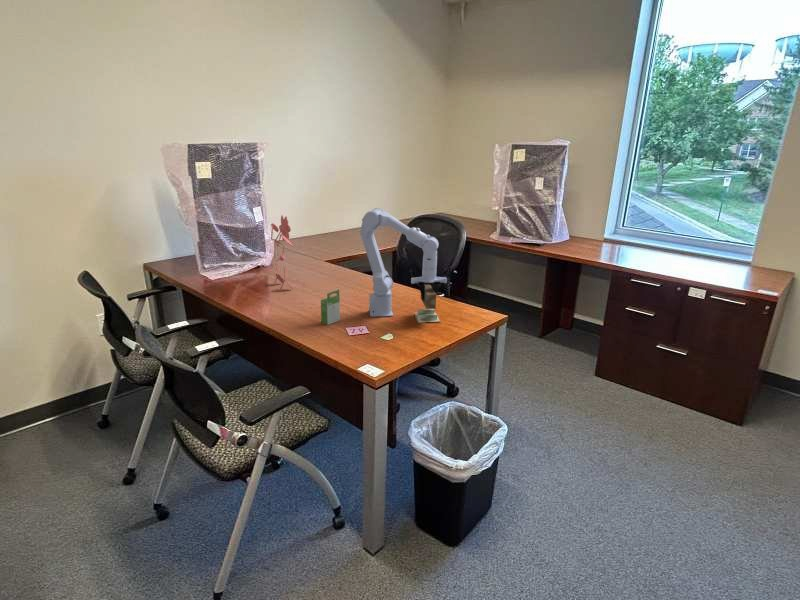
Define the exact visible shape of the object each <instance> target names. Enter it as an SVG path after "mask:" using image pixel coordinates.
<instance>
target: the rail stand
mask: <svg viewBox="0 0 800 600" xmlns="http://www.w3.org/2000/svg"><path fill="white" fill-rule="evenodd" d="M414 317H415V319H416V321H417V323H418V324H427V323H426V322H440V323H441V319H439V316H438V313H436V312H435V309H426V308H421V309H420V308H417V312H414Z"/></svg>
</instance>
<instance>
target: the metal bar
mask: <svg viewBox="0 0 800 600" xmlns="http://www.w3.org/2000/svg"><path fill="white" fill-rule="evenodd" d="M424 285H425V291H424V300H422V297H421V296H420V300H421V301H422V303H423V305H424V307H425V309H434V310H435V309H437V307H436V306H437V294H436V293H435V292H434V290H433V286H432V285H431V284H424Z"/></svg>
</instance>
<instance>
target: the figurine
mask: <svg viewBox="0 0 800 600" xmlns="http://www.w3.org/2000/svg"><path fill="white" fill-rule="evenodd" d="M270 226H271V235H270V241H273V242H274V243H275V244H276V247H279V245H281V246H283V247H282V254H281V255H280V256H279V258H278V259H277V260H275V261H274V265H275V269H276V272H277V273H276V274H275V277H276V278H275V280H274V283H273V286H274V287H275V284H276V282H277V280H278V281H279V282H280V283H281V286H280V288H279V291H280V292H281V291H282V288H283V286H284V284H285V282H286V284H287V285H288V286H289V287H290V288H291V289H293V287H292V286H291V285H290V284H289V283H288V282H287V281H286V271H285V269H286V268H285V266H283V276H284V278H283V277H282V275H280V274H279V270H278V267H277V263H276V262H278V261H281V262H285V260H286V257H285V255H284V254H285V253H284V252H285V244H283V243H281V239H282V242H286V243H287V244H288V245H290V246H291V247H294V245H293V244H292V242H291V241H290V232H291V230H292V229H291V226H290V224H289V220H288V216H285V217H284V216H283V215H281V216H280V225H278V226H277V225H276V224H275V223H274V222H273V223H271V224H270ZM273 231H275V232H276V233H278V234H277V236H276V238H275V239H273ZM277 240H278V241H277ZM292 281H295V282H298V283H299V282H300V283H302V284H303V285H305V282H303V281H298V280H293V279H292ZM286 294H287V293H284V295H286Z"/></svg>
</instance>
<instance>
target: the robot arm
mask: <svg viewBox="0 0 800 600" xmlns="http://www.w3.org/2000/svg"><path fill="white" fill-rule="evenodd" d="M361 221H362V223H361V228H360V232H359V234H360V236H361V240H362V244H363V247H364V250H365V253H366V256H367V259H368V261H369V265H370V269H371V271H372V283H373V287H372V290H373V293H369V296H368V297H369V301H368V303H369V305H368V311H369V315H370V317H371V318H372V317H393V316H394V313H393V311H392V295H393V294H392V293H393V292H392V290H391V288H392V287H393V286H394V281H393V279H392V277H390V275H389V272H388V270H386V268H385V265H384V262H383V259H382V256H381V253H380V250H379V247H378V244H377V240H376V237H375V232H376V230H377V228H378V227H389V228H390V227H391V229H394V230H396V231H397V232H399V233H400V234H403V235H405V237H406V241H409V242H410V243H412V244H413V245H415V246H417V247H418V248H421V250H422V252H423V256H422V269H421V271H422V272H421V273H422V274H421V276H417V277H411V278H410V284H413V285H414V284H417V285H418V288H419V292H420V298H421V297H422V300H424V291H425V285H426V284H432V288H433V290H434V292H435V293H436V295H437V294H438V291H439V290H440V288H441V286H442V284H441V283H443V284H447V283H448V278H447V277H446V276H437V267H438V266H437V265H438V248H439V245H440V243H439V240H438V239H437V238H436V237H435V236H431V235H430V234H427V233H425V232H422V231H421V228H419V227H414V226H413V227H409V226H408V225H406V224H404V223H403V222H402V221H400V220H399V219H397V218H396V217H394V216H393V215H392V214H390V213H389V212H387V211H385V210H383V209H381V208H379V207H378V208H377V207H376V208H374V209H371V211H367V212H366V213H365V214H364V216H363V218H361ZM422 300H421V301H422Z"/></svg>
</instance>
